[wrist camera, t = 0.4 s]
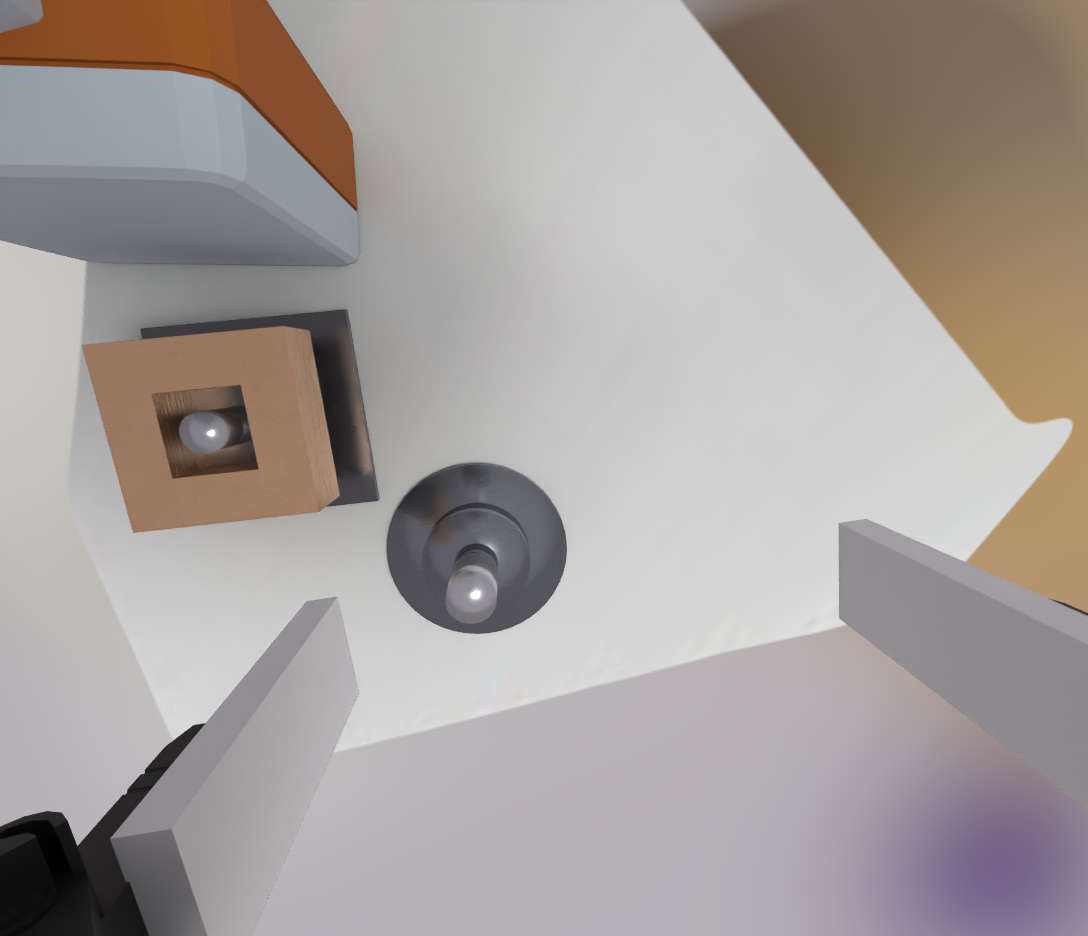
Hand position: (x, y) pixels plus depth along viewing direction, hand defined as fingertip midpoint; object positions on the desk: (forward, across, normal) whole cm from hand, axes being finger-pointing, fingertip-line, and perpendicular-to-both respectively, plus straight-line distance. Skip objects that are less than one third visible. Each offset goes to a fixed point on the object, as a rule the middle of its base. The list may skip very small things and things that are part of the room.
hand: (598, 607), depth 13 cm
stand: (+27, -19, +5) cm, 34 cm away
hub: (+27, -6, -8) cm, 29 cm away
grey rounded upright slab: (+27, -19, +20) cm, 39 cm away
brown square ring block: (+23, -19, +5) cm, 31 cm away
